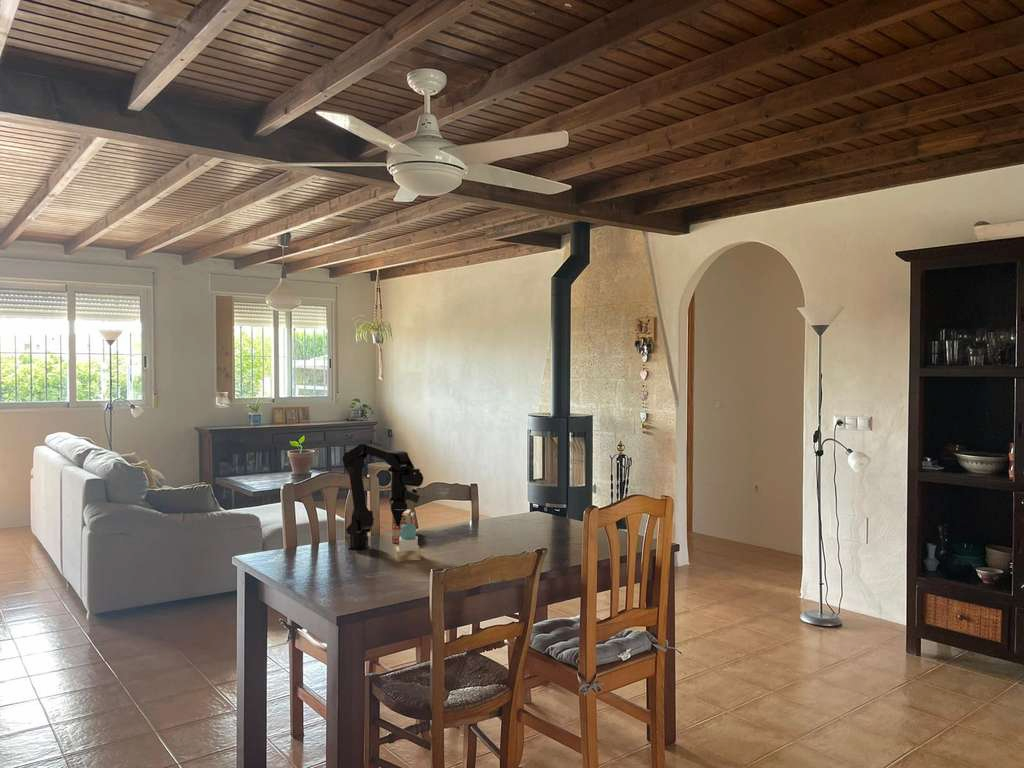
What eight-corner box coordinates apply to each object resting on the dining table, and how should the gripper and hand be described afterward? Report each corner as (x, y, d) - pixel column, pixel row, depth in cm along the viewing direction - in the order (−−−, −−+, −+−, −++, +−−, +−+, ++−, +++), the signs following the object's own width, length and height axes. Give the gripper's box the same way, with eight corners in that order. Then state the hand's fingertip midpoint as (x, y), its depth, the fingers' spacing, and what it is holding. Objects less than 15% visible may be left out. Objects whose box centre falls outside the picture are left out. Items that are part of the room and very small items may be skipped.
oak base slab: (396, 562, 297) (396, 551, 297) (395, 556, 306) (395, 546, 306) (420, 561, 299) (420, 551, 299) (418, 555, 307) (418, 545, 307)
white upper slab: (398, 550, 299) (399, 540, 299) (399, 546, 306) (399, 536, 305) (417, 550, 299) (417, 540, 299) (417, 546, 306) (417, 536, 306)
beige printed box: (400, 533, 349) (400, 505, 349) (414, 533, 349) (414, 505, 349) (391, 543, 328) (392, 514, 328) (406, 543, 328) (406, 514, 328)
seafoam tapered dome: (398, 539, 301) (398, 526, 301) (405, 536, 306) (405, 523, 306) (411, 540, 299) (411, 527, 299) (417, 537, 304) (418, 524, 304)
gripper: (420, 487, 298) (419, 528, 298) (417, 480, 316) (416, 518, 317) (391, 487, 296) (390, 528, 296) (389, 480, 314) (389, 518, 314)
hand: (397, 523), depth 306 cm, fingers open, 9 cm apart
